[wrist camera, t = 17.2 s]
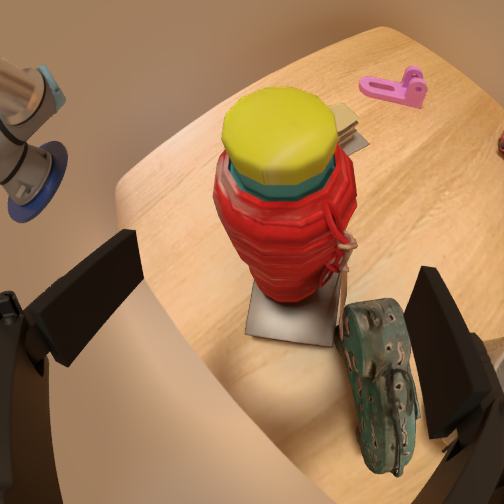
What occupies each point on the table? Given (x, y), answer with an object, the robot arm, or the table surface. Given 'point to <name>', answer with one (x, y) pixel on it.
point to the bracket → (397, 88)
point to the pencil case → (502, 142)
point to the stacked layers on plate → (347, 128)
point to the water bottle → (286, 192)
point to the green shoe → (380, 382)
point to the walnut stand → (296, 315)
